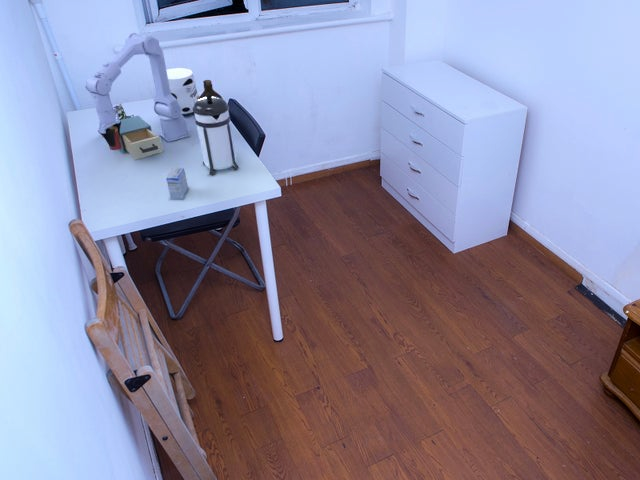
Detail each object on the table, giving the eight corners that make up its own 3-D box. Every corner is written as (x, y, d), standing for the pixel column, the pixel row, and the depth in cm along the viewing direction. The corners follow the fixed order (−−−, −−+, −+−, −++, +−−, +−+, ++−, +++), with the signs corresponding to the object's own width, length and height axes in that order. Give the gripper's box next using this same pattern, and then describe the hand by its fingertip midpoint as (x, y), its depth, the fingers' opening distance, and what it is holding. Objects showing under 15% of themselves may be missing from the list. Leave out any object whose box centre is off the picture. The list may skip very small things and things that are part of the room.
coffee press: (249, 161, 222) (239, 88, 204) (226, 179, 209) (213, 103, 192) (212, 153, 226) (199, 82, 209) (188, 170, 214) (172, 96, 196)
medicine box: (176, 188, 203) (171, 167, 197) (188, 188, 203) (184, 167, 198) (170, 199, 196) (165, 178, 191) (183, 199, 197) (178, 178, 191)
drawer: (167, 155, 221) (164, 140, 218) (138, 163, 215) (134, 148, 211) (151, 141, 231) (147, 126, 227) (122, 148, 225) (118, 133, 221)
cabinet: (155, 144, 231) (150, 125, 226) (123, 153, 224) (118, 134, 219) (142, 133, 239) (138, 115, 234) (112, 141, 231) (106, 123, 227)
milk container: (209, 111, 260) (202, 74, 250) (175, 121, 250) (166, 82, 239) (190, 101, 270) (183, 64, 259) (156, 110, 259) (147, 72, 249)
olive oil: (204, 133, 241) (194, 77, 227) (229, 131, 243) (221, 76, 229) (203, 143, 233) (192, 86, 218) (229, 142, 235) (220, 85, 220)
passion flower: (115, 138, 246) (102, 113, 244) (139, 128, 250) (126, 104, 248) (114, 133, 236) (99, 107, 234) (139, 123, 240) (125, 97, 238)
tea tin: (112, 145, 215) (106, 125, 210) (124, 145, 215) (119, 126, 210) (107, 150, 211) (101, 131, 206) (120, 150, 211) (114, 131, 206)
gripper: (109, 117, 198) (118, 151, 206) (122, 102, 210) (131, 135, 218) (88, 117, 198) (99, 151, 206) (103, 102, 209) (113, 135, 217)
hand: (114, 143), depth 212 cm, fingers closed on tea tin, 4 cm apart
